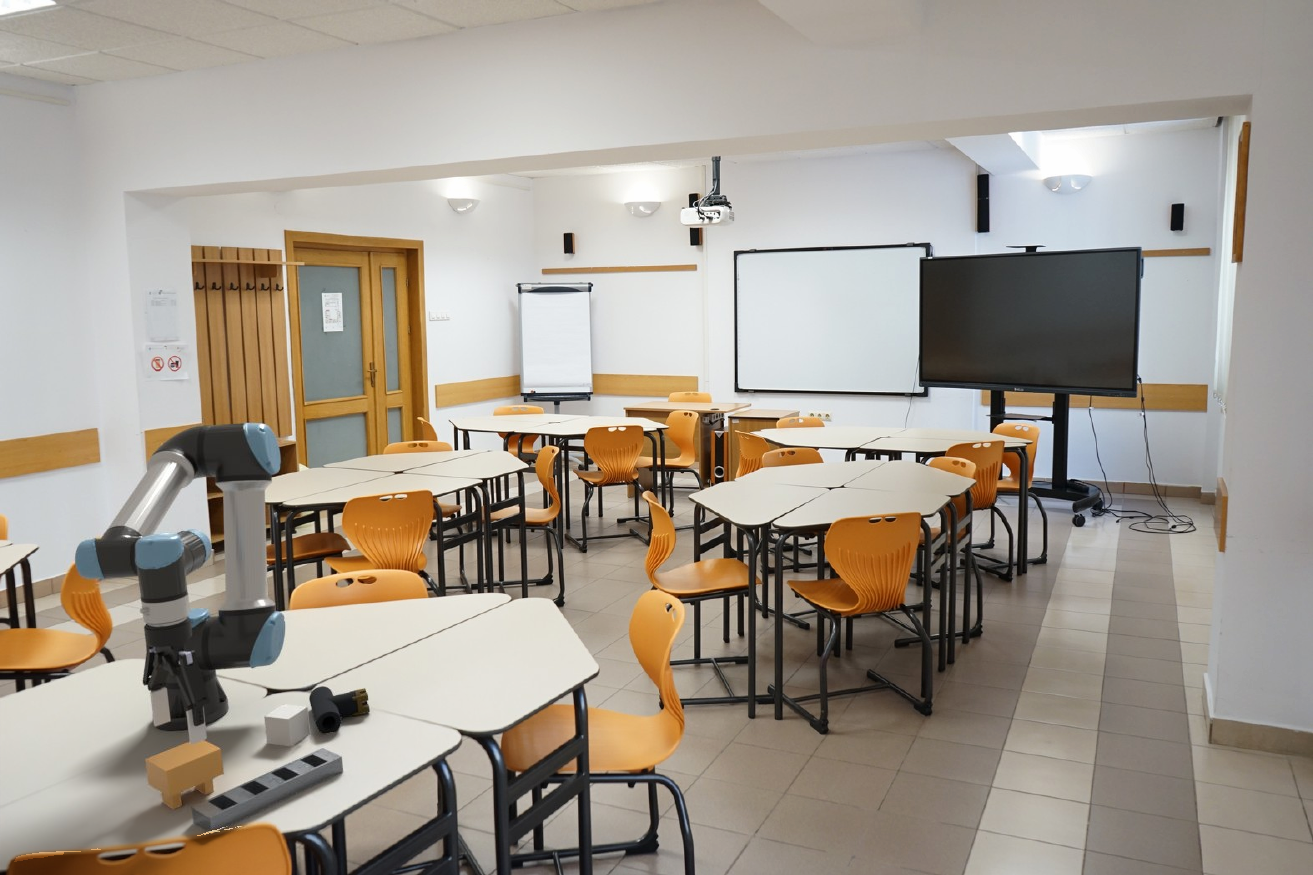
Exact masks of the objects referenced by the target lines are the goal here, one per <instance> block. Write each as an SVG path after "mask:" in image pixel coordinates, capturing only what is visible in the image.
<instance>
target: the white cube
mask: <svg viewBox="0 0 1313 875" xmlns="http://www.w3.org/2000/svg"><path fill="white" fill-rule="evenodd" d="M308 708H309V707H308V706H303V705H302V706H301V705H294V704H285V703H284V704H282V705H280V706H279V707H277V708H275V709H274V710H272V711H271V712H269V713H267V714H266V715H264V716H263V717H264V726H265V728H264V729H265V736H266V744H268V745H269V744H271V745H279V746H284V745H285V746H286V747H292V746H294V745H295V744H297V743H298V742H300V741H301V740H303V739H304V738H305V737H307V736H308V735H310V734H311V731H310V729H311V728H310V719H309V710H308ZM306 735H307V736H306ZM299 740H300V741H299Z"/></svg>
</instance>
